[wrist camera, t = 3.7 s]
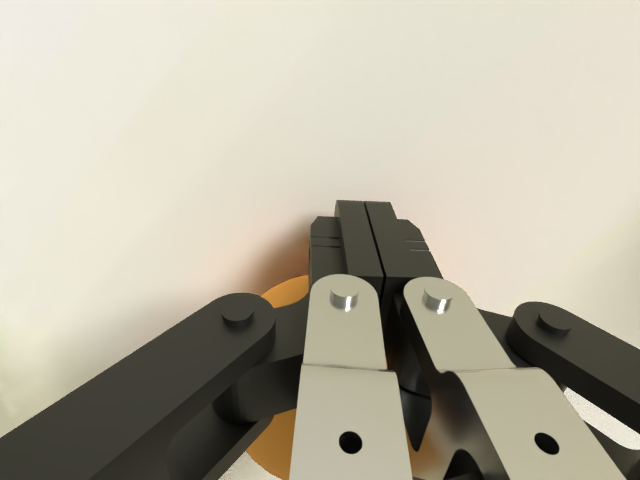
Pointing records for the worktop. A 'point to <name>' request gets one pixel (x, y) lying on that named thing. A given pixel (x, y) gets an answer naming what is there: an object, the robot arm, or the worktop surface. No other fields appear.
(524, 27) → the worktop surface
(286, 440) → the ball
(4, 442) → the robot arm
